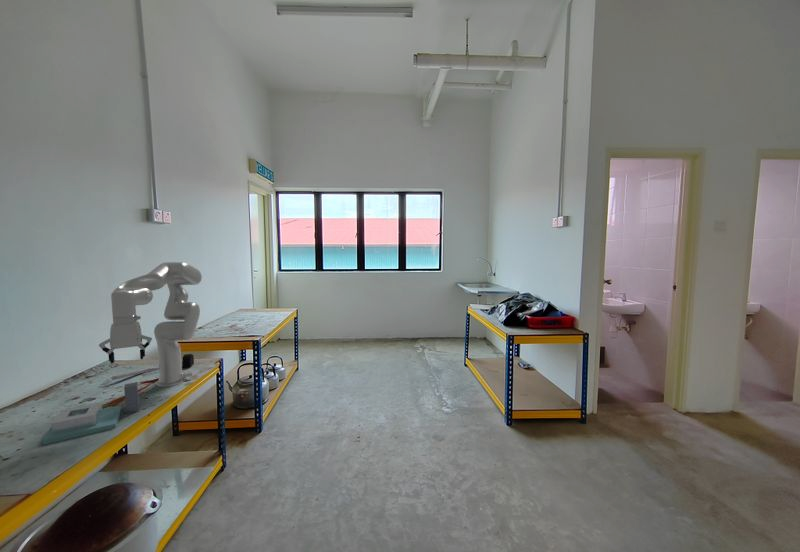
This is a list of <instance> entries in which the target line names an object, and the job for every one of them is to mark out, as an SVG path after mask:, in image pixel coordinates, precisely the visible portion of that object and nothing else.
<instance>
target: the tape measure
mask: <svg viewBox="0 0 800 552" xmlns="http://www.w3.org/2000/svg"><path fill="white" fill-rule="evenodd" d="M181 364H182V370H184V369H191V367H193V366H194V364H195V358H194V354H193V353H187V354H183V355H182V358H181Z"/></svg>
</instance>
